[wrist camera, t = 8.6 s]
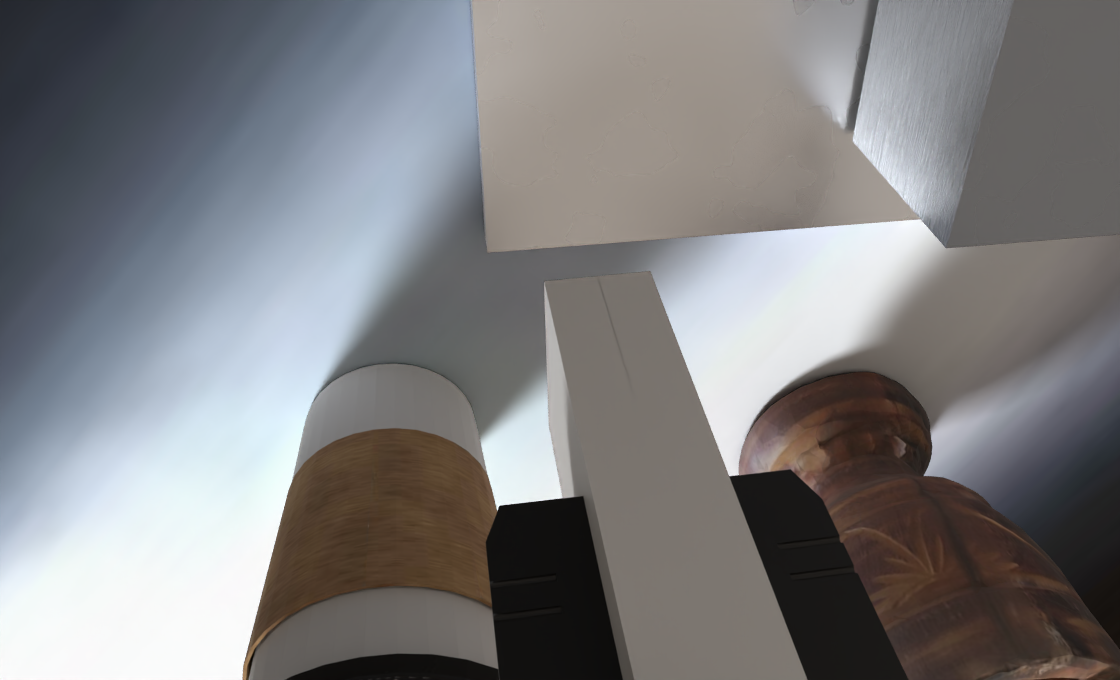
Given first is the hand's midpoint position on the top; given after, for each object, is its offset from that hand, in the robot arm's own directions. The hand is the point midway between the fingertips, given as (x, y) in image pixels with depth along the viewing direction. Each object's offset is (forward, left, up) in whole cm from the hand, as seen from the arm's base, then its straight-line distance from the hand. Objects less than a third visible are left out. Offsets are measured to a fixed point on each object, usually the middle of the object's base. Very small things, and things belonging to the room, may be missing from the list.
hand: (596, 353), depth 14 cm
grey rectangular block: (-1, +13, -13) cm, 19 cm away
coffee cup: (+14, -5, -15) cm, 21 cm away
